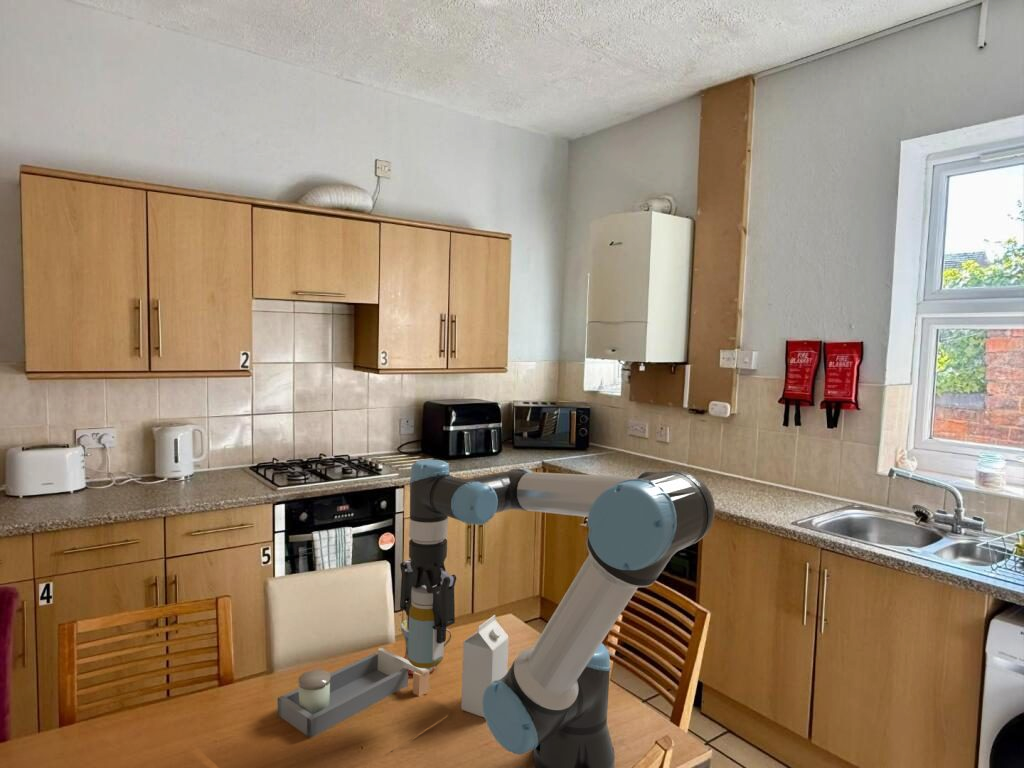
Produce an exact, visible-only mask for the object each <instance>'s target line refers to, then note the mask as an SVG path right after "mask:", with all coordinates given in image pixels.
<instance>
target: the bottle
mask: <svg viewBox="0 0 1024 768" xmlns="http://www.w3.org/2000/svg"><path fill="white" fill-rule="evenodd" d="M435 586H437V585H435ZM435 586H433V587H435ZM436 593H437V594H439V593H438V592H436ZM411 599H412V600H411V603H412V604H411V607H410V609H409V635H408V660H409V662H410V663H411V664H412V665H413V666H415V667H418V668H432V667H434V666H437V667H438V665H439V664H441V662H442V661H443V660H444V655H443V656H441V657H439V658H437V659H435V660H432V657H433V627H432V626H434V625H435V622H434V614H433V610H432V608H433V606H432V604H433V593H428V592H427V589H426V586H425V585H423V586H420V587H418V588H415V587H414V586H413V587H412V591H411ZM441 620H442V619H441Z"/></svg>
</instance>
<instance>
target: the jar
mask: <svg viewBox="0 0 1024 768" xmlns="http://www.w3.org/2000/svg"><path fill="white" fill-rule="evenodd" d="M330 673H331V672H329V671H326V670H324V669H312V670H308V671H306V672H303V673H302V674H301V675H300V676H299V677H298V679H297V680H298V688H299V706H300V707H301V708H303V709H304V710H306V711H307V712H309V713H311V714H312V715H313V714H315V713H317V712H319V711H321V710H323V709H325V708H327V707H329V706H330Z"/></svg>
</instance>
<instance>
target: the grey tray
mask: <svg viewBox="0 0 1024 768" xmlns="http://www.w3.org/2000/svg"><path fill="white" fill-rule="evenodd" d="M329 673H330V706H329V707H327V708H325V709H323V710H321V711H319V712H317V713H315V714H313V715H312V714H311V713H309V712H307V711H306V710H304V709H303V708H301V707H300V706H299V687H298V688H296V689H294V690H292V691H289V692H287V693H285V694H283V695H280V696H279V697H277V716H278V717H280V718H281V719H282V720H284V721H285V722H287V723H288V724H289V725H291V726H292V727H293V728H296V729H297V730H298V731H299V732H301V733H302V734H304V735H305V736H307V737H308V738H309V739H312V738H314V737H316V736H317V735H320V734H322V733H323V732H325V731H327V730H329V729H330V728H333V727H334V726H335V725H338V724H340V723H341V722H343V721H345V720H347V719H349V718H351V717H352V716H355V715H356V714H358V713H360V712H362V711H363V710H365V709H368V708H369V707H371V706H373V705H374V704H376V703H378V702H380V701H382V700H384V699H387V698H388V697H389V696H391V695H393V694H394V693H395V694H396V693H397V692H398V691H400V690H402V689H404V688H406V687H409V685H408V684H409V673H408V669H406V668H403V669H401V670H399V671H397V672H395V673H394V674H392V675H390V676H388V675H386V674H384V673H382V672H381V671H379V670H378V653H376V652H373V653H372V654H369V655H366V656H365V657H362V658H360V659H358V660H356V661H354V662H352V663H349V664H347V665H345V666H343V667H341V668H338V669H336V670H335V671H333V672H329Z"/></svg>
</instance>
